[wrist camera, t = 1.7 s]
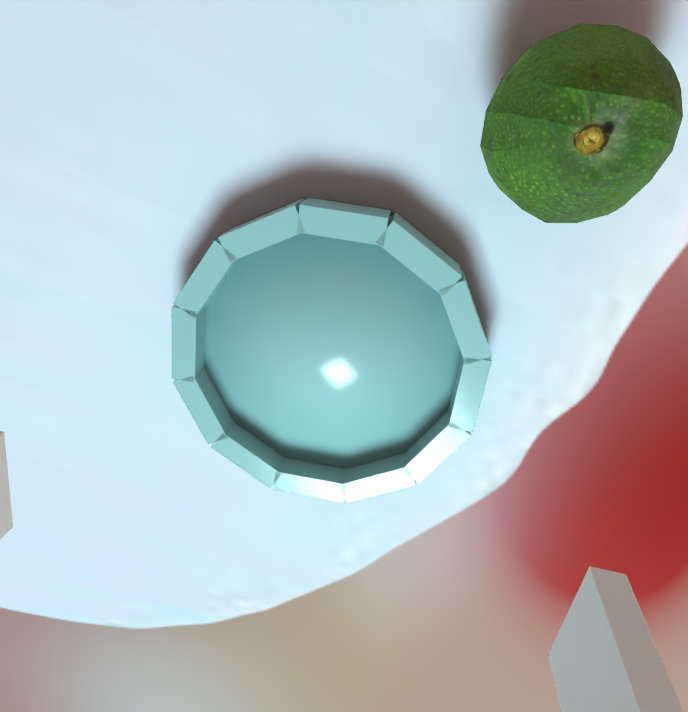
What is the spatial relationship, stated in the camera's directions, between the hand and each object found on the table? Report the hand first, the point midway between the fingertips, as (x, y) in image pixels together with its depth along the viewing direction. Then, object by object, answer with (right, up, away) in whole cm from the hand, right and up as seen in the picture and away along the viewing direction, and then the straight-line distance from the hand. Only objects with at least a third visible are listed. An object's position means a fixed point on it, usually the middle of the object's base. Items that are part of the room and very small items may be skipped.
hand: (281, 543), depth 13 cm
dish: (+1, +4, +24) cm, 24 cm away
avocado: (+12, +16, +17) cm, 27 cm away
